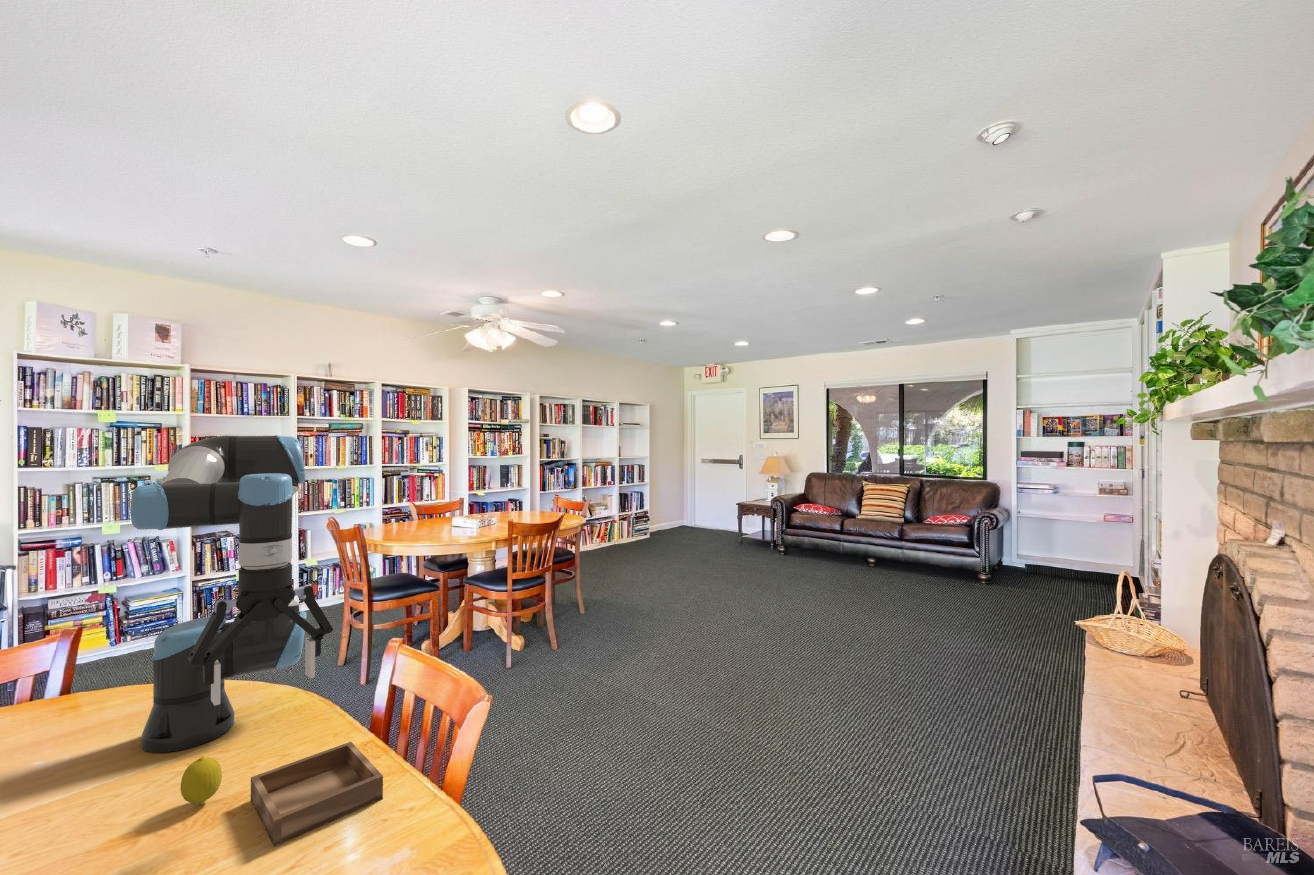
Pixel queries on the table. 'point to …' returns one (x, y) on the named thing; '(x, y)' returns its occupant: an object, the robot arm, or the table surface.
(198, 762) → the lemon
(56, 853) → the table surface
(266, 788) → the walnut bin
